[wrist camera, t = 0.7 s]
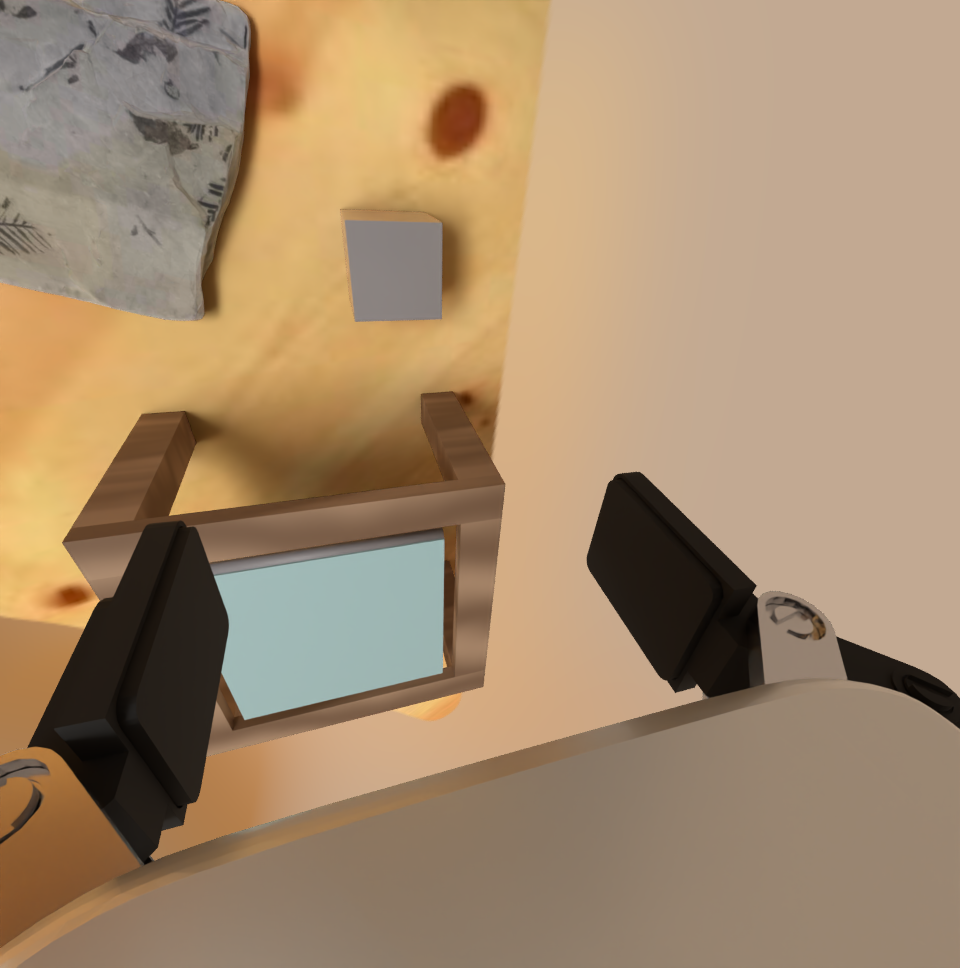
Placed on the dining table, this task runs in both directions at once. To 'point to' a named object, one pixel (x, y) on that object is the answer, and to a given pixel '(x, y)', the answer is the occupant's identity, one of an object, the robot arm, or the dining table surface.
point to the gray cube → (393, 264)
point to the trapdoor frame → (307, 523)
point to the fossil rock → (119, 147)
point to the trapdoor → (332, 619)
